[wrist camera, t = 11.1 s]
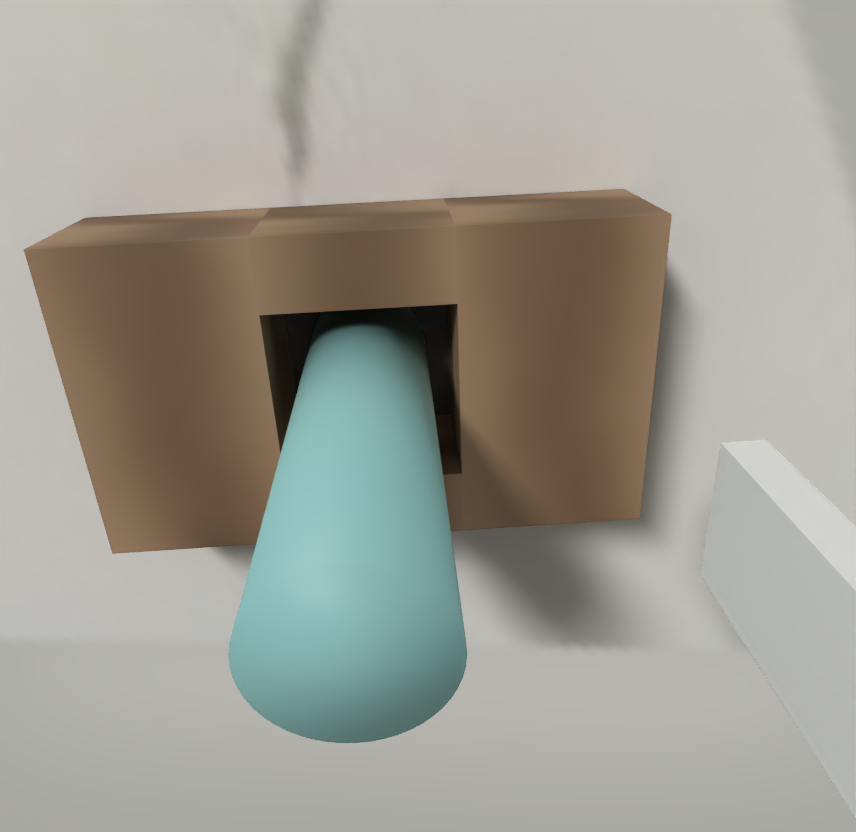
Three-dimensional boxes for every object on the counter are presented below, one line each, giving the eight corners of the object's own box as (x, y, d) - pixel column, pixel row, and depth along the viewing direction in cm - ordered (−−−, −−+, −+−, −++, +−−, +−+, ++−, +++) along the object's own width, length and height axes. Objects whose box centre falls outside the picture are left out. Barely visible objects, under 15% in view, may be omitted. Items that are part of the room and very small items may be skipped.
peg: (316, 399, 21) (244, 749, 10) (307, 292, 20) (212, 570, 9) (425, 396, 21) (465, 737, 11) (424, 290, 20) (469, 560, 9)
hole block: (151, 483, 22) (112, 553, 19) (85, 218, 19) (24, 249, 15) (604, 454, 22) (639, 518, 19) (624, 189, 19) (671, 214, 16)
